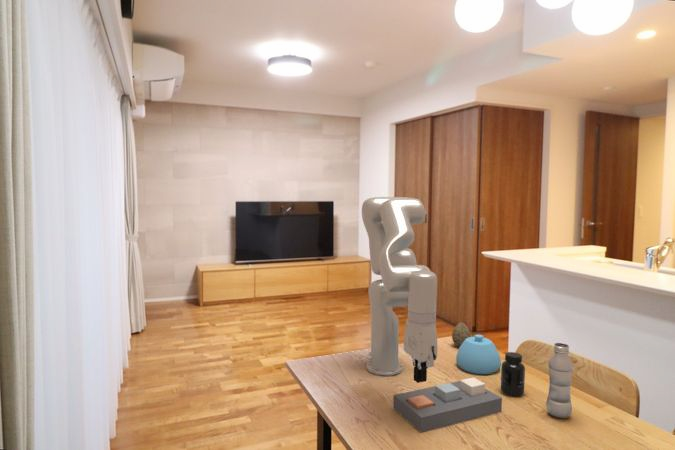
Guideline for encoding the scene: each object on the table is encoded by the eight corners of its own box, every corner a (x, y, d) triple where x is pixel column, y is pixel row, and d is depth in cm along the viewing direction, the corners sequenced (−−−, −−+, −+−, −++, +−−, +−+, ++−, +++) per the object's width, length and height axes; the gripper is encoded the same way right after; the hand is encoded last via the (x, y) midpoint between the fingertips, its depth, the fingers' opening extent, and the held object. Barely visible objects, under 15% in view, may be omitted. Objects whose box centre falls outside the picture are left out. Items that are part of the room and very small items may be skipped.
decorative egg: (460, 342, 186) (461, 318, 185) (474, 347, 180) (474, 323, 179) (448, 345, 182) (448, 321, 181) (461, 351, 176) (462, 326, 175)
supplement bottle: (526, 398, 136) (527, 359, 135) (502, 396, 138) (503, 357, 137) (521, 388, 143) (523, 351, 142) (499, 386, 144) (500, 349, 143)
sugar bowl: (476, 356, 170) (477, 326, 169) (509, 370, 158) (510, 337, 157) (447, 364, 163) (447, 333, 162) (479, 379, 150) (480, 345, 149)
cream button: (459, 394, 134) (460, 380, 133) (473, 391, 136) (473, 377, 135) (471, 402, 129) (471, 387, 129) (485, 398, 131) (485, 384, 131)
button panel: (393, 408, 130) (393, 395, 130) (468, 391, 141) (468, 378, 141) (421, 432, 117) (421, 417, 117) (501, 411, 128) (501, 397, 128)
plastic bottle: (569, 411, 128) (572, 342, 127) (573, 423, 122) (576, 350, 120) (544, 407, 130) (547, 339, 129) (547, 419, 124) (549, 347, 122)
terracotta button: (407, 413, 127) (408, 398, 126) (422, 410, 129) (423, 394, 128) (418, 421, 122) (418, 406, 122) (433, 418, 124) (433, 402, 124)
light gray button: (434, 400, 130) (434, 385, 130) (448, 397, 132) (449, 382, 132) (445, 408, 126) (445, 392, 125) (460, 404, 128) (460, 389, 127)
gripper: (395, 310, 129) (394, 372, 131) (426, 326, 115) (424, 395, 117) (417, 307, 132) (416, 368, 134) (450, 322, 118) (448, 390, 120)
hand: (420, 380), depth 125 cm, fingers closed
